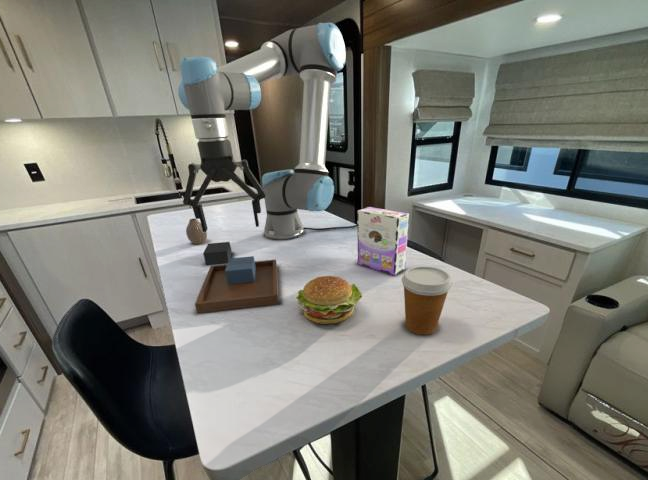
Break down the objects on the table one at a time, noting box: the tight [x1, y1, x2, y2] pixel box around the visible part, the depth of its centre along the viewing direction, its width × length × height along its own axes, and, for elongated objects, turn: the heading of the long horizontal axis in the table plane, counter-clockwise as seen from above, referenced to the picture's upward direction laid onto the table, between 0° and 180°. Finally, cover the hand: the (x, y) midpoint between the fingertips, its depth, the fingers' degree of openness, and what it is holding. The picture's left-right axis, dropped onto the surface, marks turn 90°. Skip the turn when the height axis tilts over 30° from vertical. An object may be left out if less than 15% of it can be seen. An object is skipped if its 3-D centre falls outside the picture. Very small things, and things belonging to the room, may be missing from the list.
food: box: [295, 275, 363, 325], centre depth 72 cm, size 14×14×8 cm
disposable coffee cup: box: [401, 265, 453, 336], centre depth 65 cm, size 10×10×12 cm
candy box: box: [356, 206, 410, 276], centre depth 91 cm, size 14×6×16 cm, turn 47°
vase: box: [185, 217, 208, 245], centre depth 117 cm, size 7×7×9 cm
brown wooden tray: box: [194, 259, 280, 314], centre depth 85 cm, size 19×23×2 cm
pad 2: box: [225, 255, 256, 284], centre depth 89 cm, size 7×9×4 cm
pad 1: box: [202, 241, 233, 266], centre depth 104 cm, size 7×9×4 cm
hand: (231, 227), depth 86 cm, fingers open, 13 cm apart
